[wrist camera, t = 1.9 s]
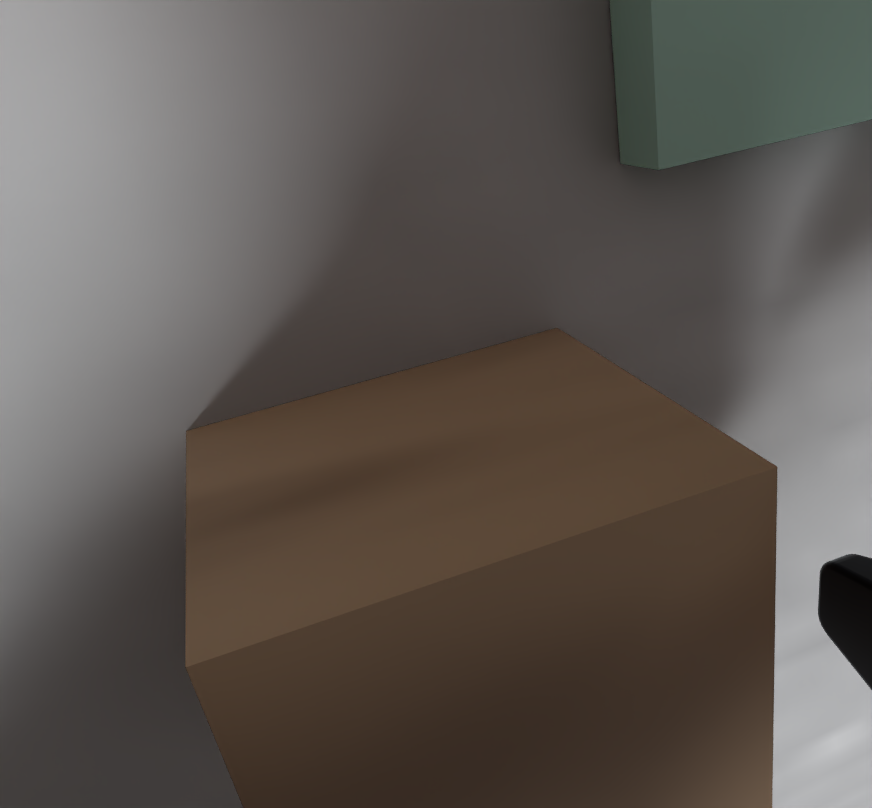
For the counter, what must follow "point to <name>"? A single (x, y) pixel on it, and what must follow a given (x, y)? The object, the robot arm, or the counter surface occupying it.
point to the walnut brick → (484, 592)
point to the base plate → (735, 74)
